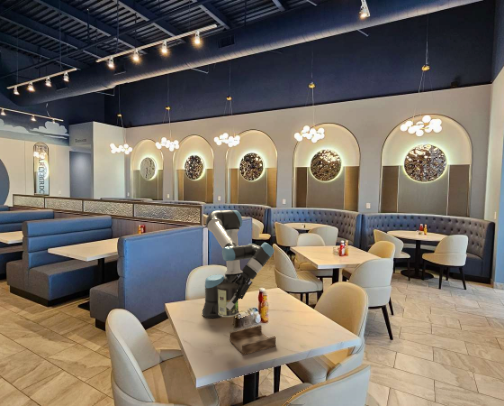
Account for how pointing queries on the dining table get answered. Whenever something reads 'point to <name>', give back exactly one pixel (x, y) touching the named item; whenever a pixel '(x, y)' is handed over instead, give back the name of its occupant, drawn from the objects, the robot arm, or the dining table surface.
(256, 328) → the cradle
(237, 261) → the robot arm
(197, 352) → the dining table surface
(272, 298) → the dining table surface
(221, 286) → the coffee can
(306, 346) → the dining table surface
